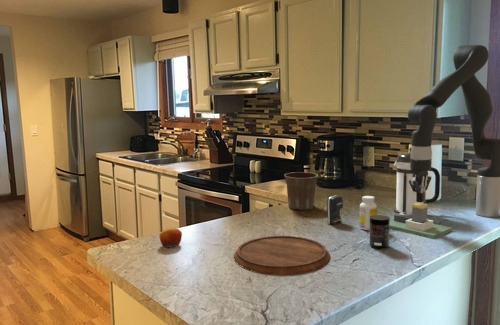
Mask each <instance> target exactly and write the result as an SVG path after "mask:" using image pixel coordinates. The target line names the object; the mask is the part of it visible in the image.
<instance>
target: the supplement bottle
mask: <svg viewBox="0 0 500 325" xmlns="http://www.w3.org/2000/svg"><path fill="white" fill-rule="evenodd" d="M361 199H362V202H361V203H360V204H359V228H360V229H361V230H364V231H370V222H369V221H370V216H372V215H378V205H377V203H375V200H376V198H375V196H373V195H364V196H362V197H361Z"/></svg>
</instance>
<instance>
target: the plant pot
mask: <svg viewBox="0 0 500 325" xmlns="http://www.w3.org/2000/svg"><path fill="white" fill-rule="evenodd" d="M283 177H284V179H285V184H286V191H287V192H286V193H287V203H288V204H287V205H288V208H289V209H291V210H295V209H297V210H300V211H309V210H312V209H314V207H315V194H316V188H317V187H316V186H317V182H318V177H319V174H318V173H314V172H309V171H308V172H303V171H296V172H288V173H284V176H283ZM308 209H309V210H308Z"/></svg>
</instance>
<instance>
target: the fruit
mask: <svg viewBox="0 0 500 325" xmlns="http://www.w3.org/2000/svg"><path fill="white" fill-rule="evenodd" d="M182 233H183V231H182V230H180V229H179V228H176V227H168V228H166V229H164V230H162V231H161V232H160V233H159V241H160V244H161V245H162V247H164V248H167V247H170V248H171V246H172V247H177V246H179V245H180V243H181V241H182V236H183V234H182Z"/></svg>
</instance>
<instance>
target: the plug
mask: <svg viewBox="0 0 500 325" xmlns="http://www.w3.org/2000/svg"><path fill="white" fill-rule="evenodd" d="M427 214H428V203H426V204H422V203H416V204H413V205H412V221H414V222H418V223H425V222H427V219H428V216H427Z"/></svg>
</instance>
